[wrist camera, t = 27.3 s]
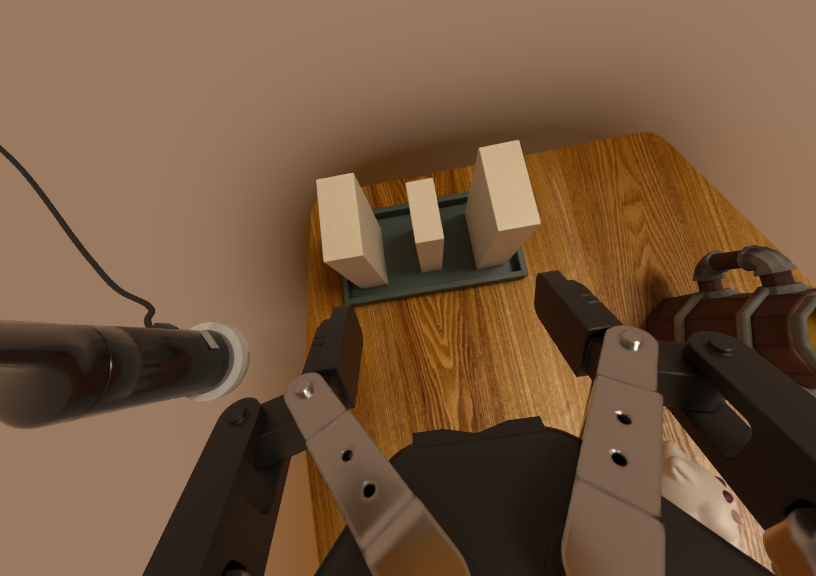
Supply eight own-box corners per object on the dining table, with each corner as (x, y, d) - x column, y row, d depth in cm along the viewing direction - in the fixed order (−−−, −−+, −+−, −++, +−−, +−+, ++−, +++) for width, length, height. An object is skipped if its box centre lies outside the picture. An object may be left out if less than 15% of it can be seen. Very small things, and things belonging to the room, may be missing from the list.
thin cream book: (421, 273, 43) (415, 243, 30) (414, 228, 44) (405, 182, 31) (442, 269, 42) (444, 238, 30) (434, 225, 44) (432, 177, 31)
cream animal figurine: (794, 668, 24) (739, 482, 25) (668, 625, 29) (627, 470, 30) (748, 570, 32) (708, 432, 33) (655, 549, 37) (623, 428, 38)
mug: (759, 375, 36) (977, 398, 22) (661, 392, 37) (807, 425, 22) (711, 258, 40) (872, 208, 25) (620, 276, 40) (726, 238, 26)
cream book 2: (476, 270, 42) (498, 231, 27) (464, 213, 44) (478, 147, 29) (504, 265, 42) (541, 223, 27) (491, 208, 43) (519, 139, 29)
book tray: (350, 307, 43) (344, 305, 41) (340, 223, 46) (335, 216, 43) (523, 278, 42) (528, 274, 39) (502, 193, 44) (506, 184, 42)
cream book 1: (362, 289, 43) (323, 262, 28) (355, 232, 45) (315, 179, 30) (388, 285, 43) (363, 255, 28) (380, 228, 44) (353, 172, 30)
